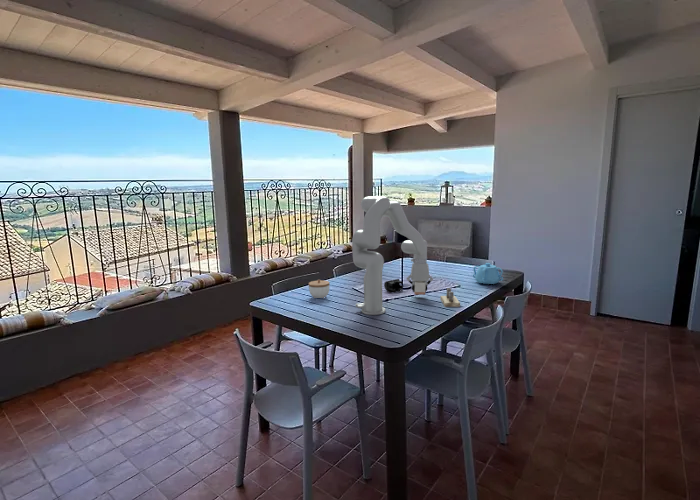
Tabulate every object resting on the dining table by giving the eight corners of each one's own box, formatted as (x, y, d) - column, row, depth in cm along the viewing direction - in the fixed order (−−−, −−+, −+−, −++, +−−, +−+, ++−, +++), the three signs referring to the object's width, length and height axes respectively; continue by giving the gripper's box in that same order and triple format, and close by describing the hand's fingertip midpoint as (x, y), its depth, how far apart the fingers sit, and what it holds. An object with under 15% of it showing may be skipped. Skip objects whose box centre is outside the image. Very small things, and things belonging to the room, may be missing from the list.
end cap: (396, 288, 237) (395, 278, 236) (403, 290, 231) (403, 280, 230) (384, 290, 231) (383, 280, 230) (391, 293, 226) (391, 282, 225)
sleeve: (414, 294, 211) (414, 282, 210) (413, 291, 216) (414, 280, 216) (425, 294, 210) (425, 282, 209) (424, 292, 216) (424, 280, 215)
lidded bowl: (327, 300, 213) (326, 282, 211) (306, 300, 215) (305, 281, 214) (332, 294, 225) (331, 277, 223) (312, 294, 228) (312, 277, 226)
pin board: (444, 306, 195) (444, 294, 194) (440, 299, 209) (440, 287, 208) (459, 306, 195) (460, 293, 194) (454, 299, 209) (454, 287, 207)
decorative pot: (470, 280, 251) (471, 261, 249) (493, 279, 252) (494, 260, 249) (480, 286, 235) (480, 266, 233) (504, 285, 235) (505, 265, 233)
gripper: (405, 262, 208) (405, 293, 210) (436, 262, 206) (435, 293, 209) (404, 260, 215) (404, 289, 218) (434, 260, 214) (433, 290, 216)
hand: (419, 291), depth 213 cm, fingers closed on sleeve, 6 cm apart
